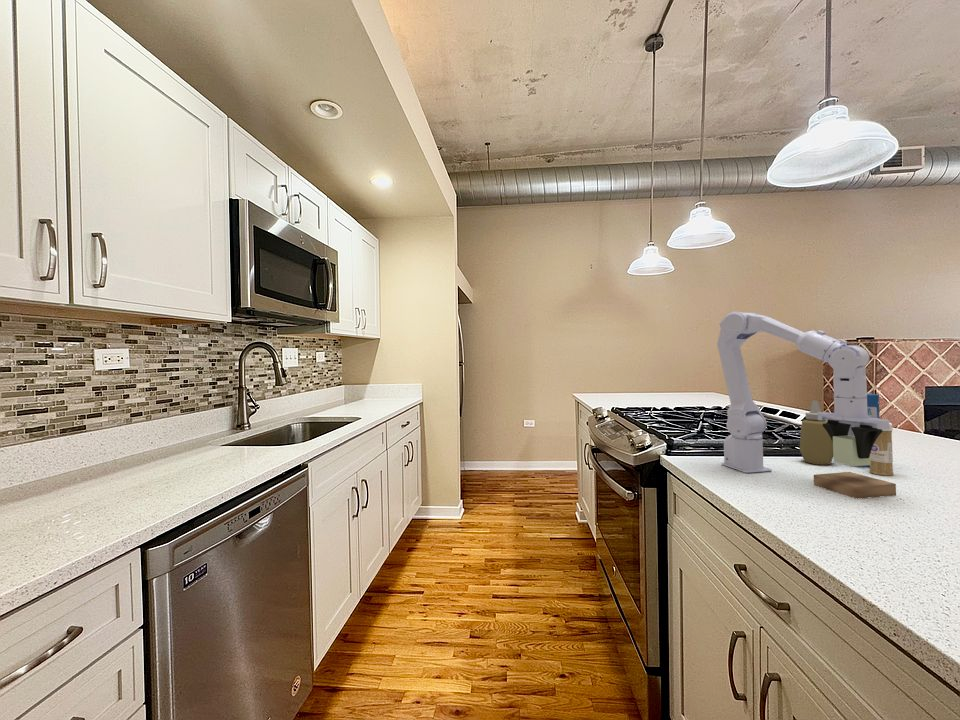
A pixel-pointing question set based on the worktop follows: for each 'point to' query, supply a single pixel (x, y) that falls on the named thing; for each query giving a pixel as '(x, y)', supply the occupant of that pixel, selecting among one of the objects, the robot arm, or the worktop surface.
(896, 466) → the worktop surface
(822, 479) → the walnut block
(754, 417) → the robot arm
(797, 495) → the worktop surface
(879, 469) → the sprinkles bottle
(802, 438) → the squeeze bottle
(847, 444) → the sage block
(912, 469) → the worktop surface
